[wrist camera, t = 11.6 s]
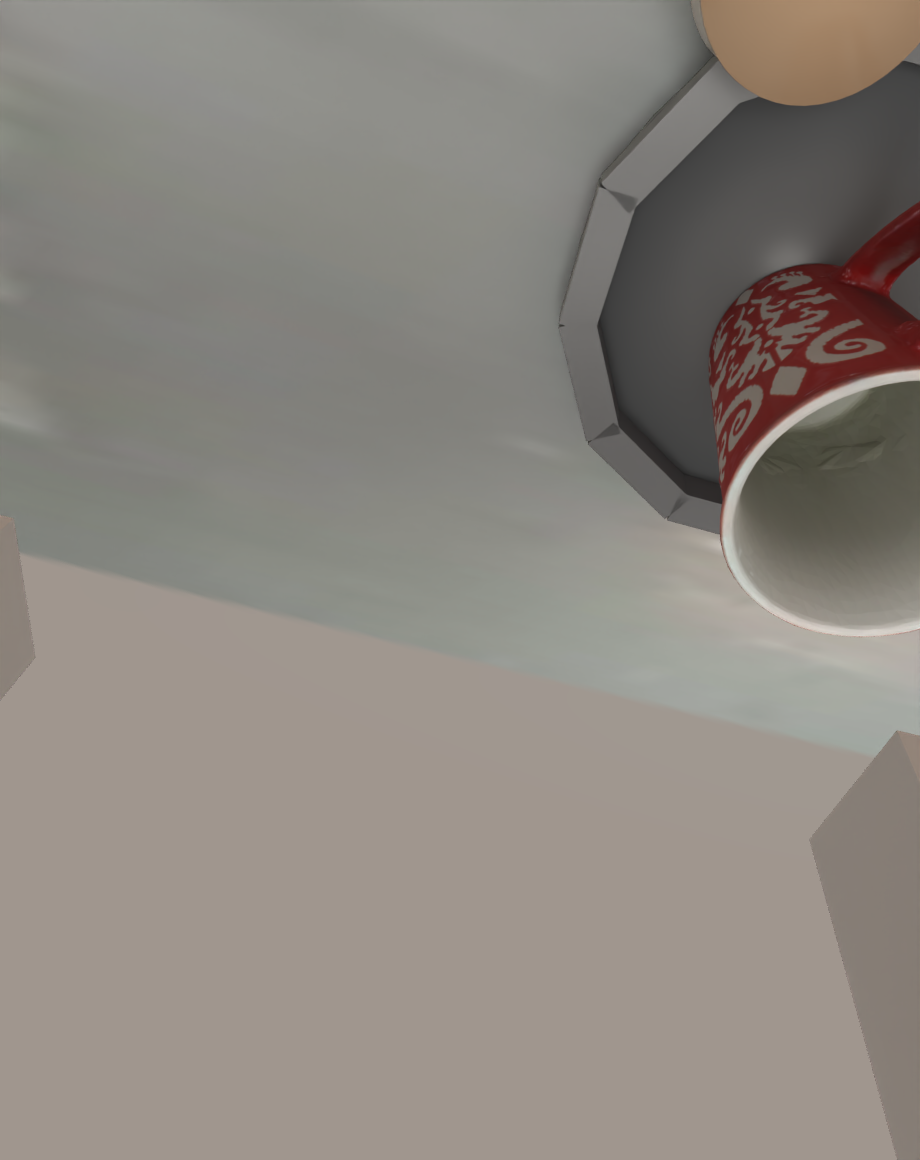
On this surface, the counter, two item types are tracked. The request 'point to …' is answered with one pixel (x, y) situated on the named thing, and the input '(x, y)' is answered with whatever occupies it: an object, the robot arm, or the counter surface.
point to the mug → (824, 441)
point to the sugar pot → (808, 44)
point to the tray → (719, 256)
